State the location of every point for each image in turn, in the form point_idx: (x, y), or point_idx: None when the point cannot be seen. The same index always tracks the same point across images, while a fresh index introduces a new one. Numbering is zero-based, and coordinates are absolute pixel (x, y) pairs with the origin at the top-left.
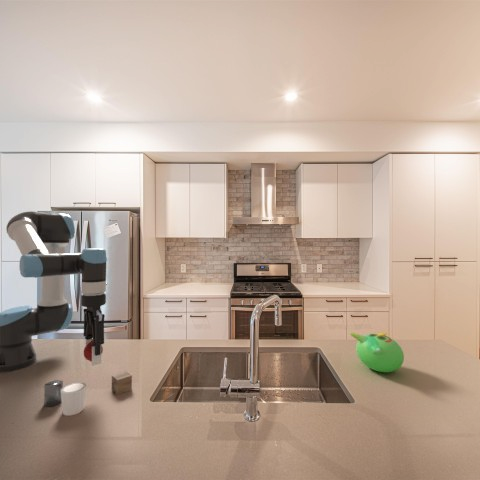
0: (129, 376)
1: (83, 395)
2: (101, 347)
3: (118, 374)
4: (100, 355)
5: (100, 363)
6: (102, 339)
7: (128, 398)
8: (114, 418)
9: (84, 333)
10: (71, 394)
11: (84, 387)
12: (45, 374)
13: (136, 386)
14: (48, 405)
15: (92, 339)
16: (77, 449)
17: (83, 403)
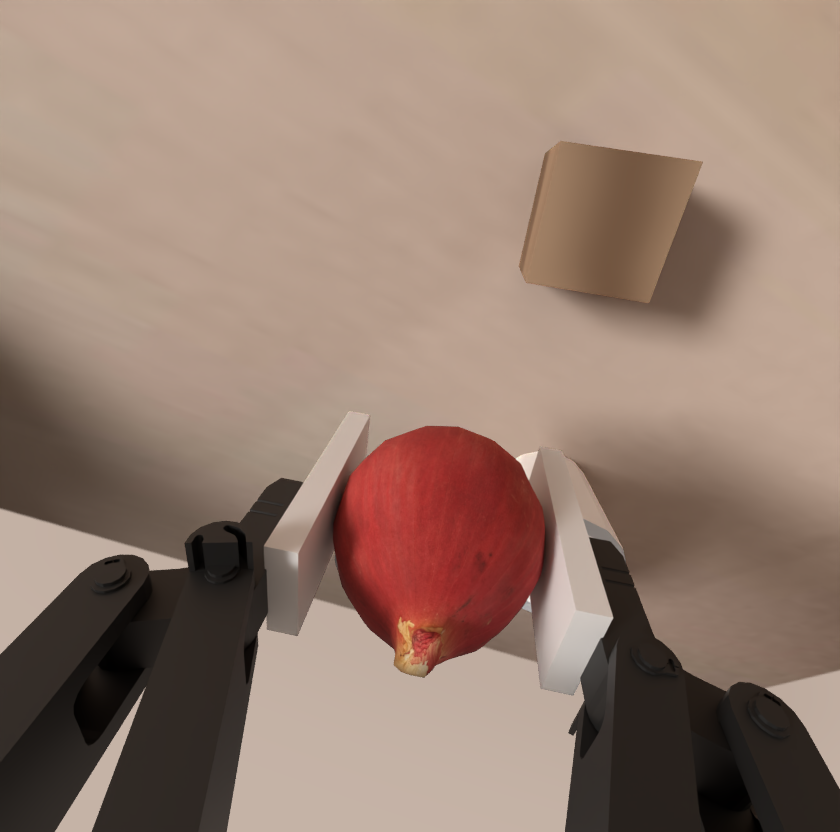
0: (691, 187)
1: (606, 517)
2: (516, 508)
3: (566, 237)
4: (574, 506)
5: (560, 455)
6: (829, 818)
7: (734, 262)
8: (814, 427)
9: (134, 687)
10: None
11: (615, 542)
12: (56, 404)
13: (656, 111)
14: None
15: (416, 674)
16: (817, 595)
17: (586, 482)
